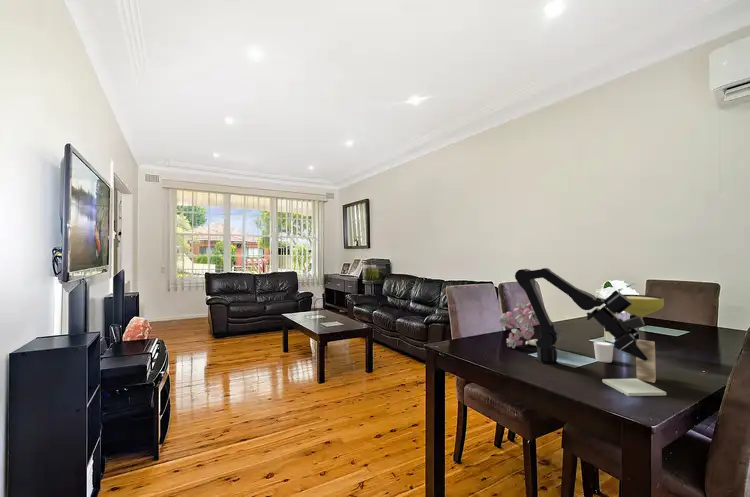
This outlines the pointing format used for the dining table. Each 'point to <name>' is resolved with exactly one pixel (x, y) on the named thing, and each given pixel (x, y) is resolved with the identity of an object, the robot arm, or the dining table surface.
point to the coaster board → (633, 387)
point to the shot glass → (603, 351)
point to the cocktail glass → (643, 305)
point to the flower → (526, 330)
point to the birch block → (646, 367)
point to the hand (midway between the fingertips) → (647, 357)
